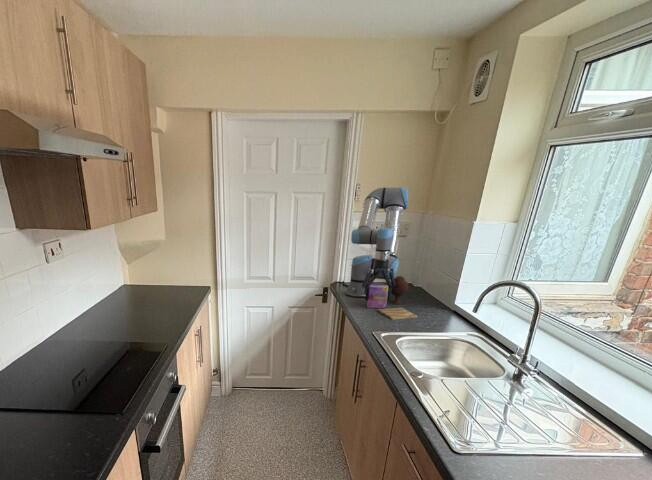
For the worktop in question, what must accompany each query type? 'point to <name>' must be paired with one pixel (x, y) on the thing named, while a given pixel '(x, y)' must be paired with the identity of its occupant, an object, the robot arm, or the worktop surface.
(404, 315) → the oak board
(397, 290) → the ice cream bowl
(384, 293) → the box
